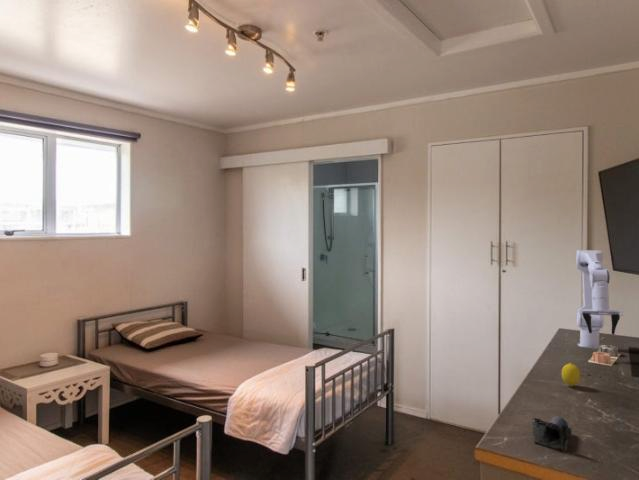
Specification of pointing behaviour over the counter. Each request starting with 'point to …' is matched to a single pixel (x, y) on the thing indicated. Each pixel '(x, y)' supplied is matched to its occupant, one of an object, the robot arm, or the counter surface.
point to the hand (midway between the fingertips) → (601, 333)
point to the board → (609, 350)
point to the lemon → (570, 374)
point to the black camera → (552, 433)
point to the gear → (601, 357)
